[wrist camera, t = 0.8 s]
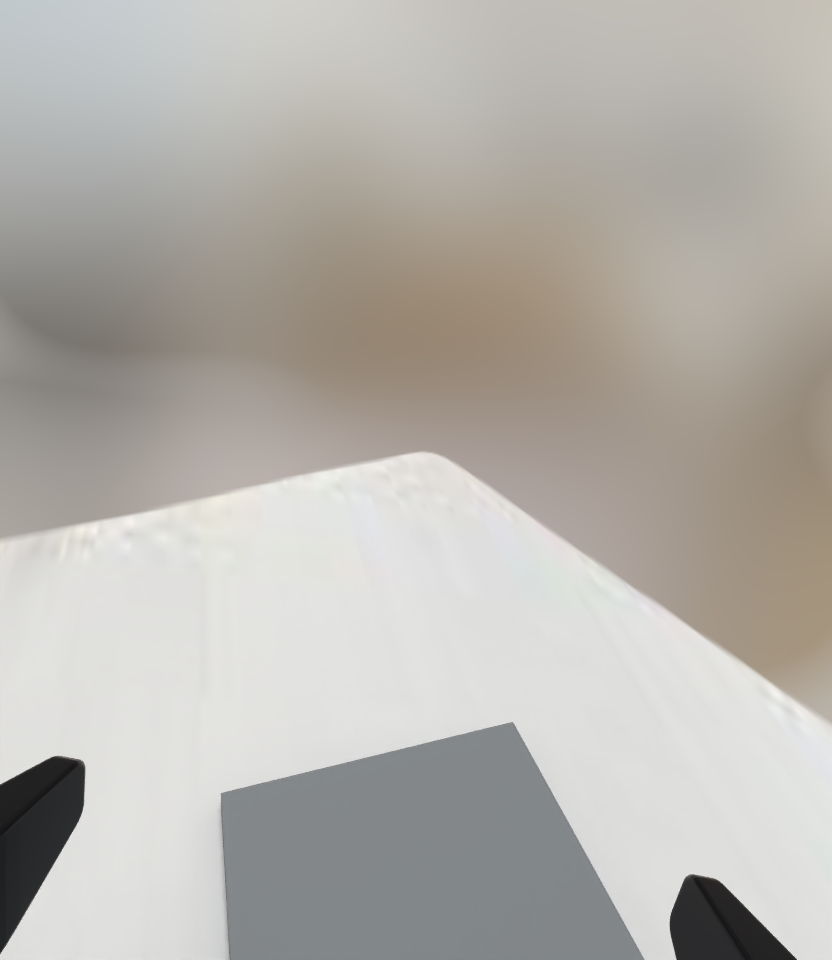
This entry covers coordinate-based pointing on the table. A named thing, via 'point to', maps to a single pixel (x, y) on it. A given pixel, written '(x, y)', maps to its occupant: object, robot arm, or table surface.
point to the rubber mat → (415, 862)
